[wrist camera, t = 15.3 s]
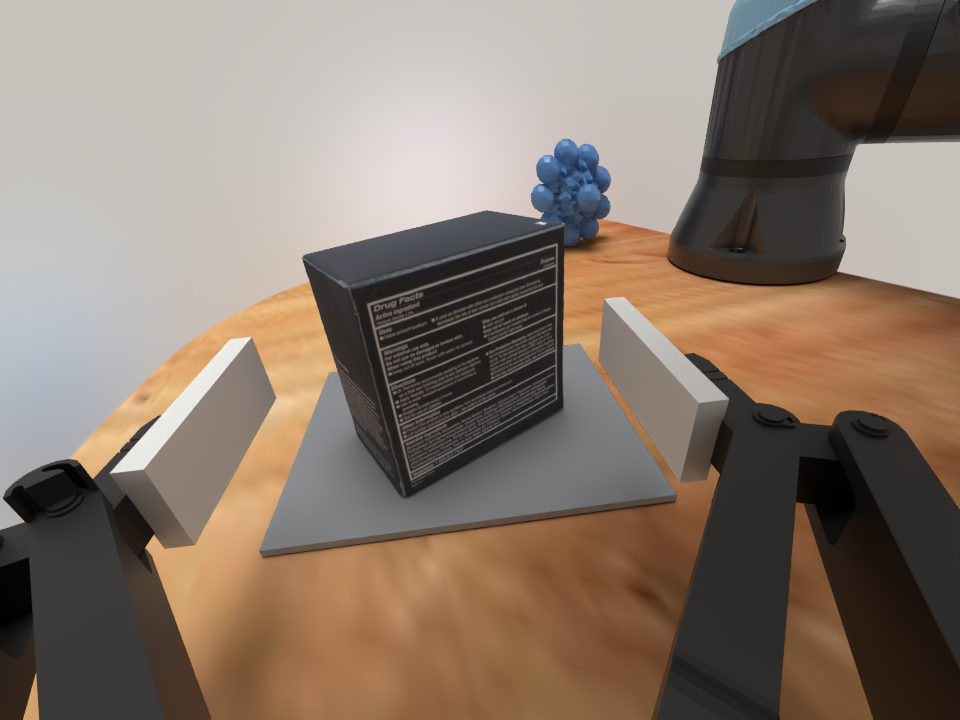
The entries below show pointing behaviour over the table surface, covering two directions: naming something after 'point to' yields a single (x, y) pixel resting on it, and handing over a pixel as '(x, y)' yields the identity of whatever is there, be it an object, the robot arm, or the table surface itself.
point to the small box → (445, 337)
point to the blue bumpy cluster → (572, 190)
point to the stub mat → (467, 474)
